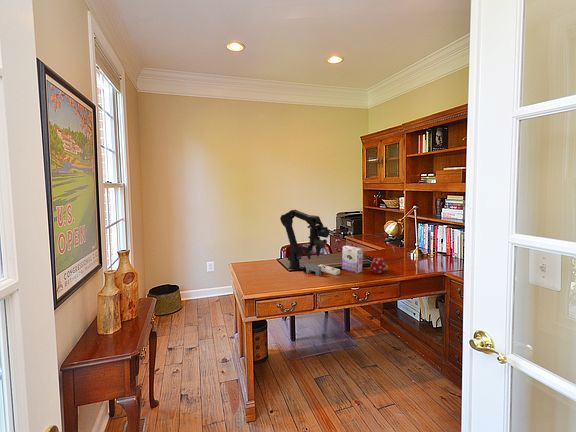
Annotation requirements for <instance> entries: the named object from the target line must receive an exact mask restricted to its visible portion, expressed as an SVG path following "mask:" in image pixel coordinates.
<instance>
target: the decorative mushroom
mask: <svg viewBox="0 0 576 432" xmlns="http://www.w3.org/2000/svg"><path fill="white" fill-rule="evenodd" d="M388 268H389V266H388V265H387V264H386V262H385V260H384V259H383V258H382V257H379V256H378V257H374V258H373V259H372V261H371V263H370V269H371V271H372V272H373V273H374V274H382V273H383V272H384V271H387V270H388Z"/></svg>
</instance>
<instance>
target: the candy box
mask: <svg viewBox="0 0 576 432" xmlns="http://www.w3.org/2000/svg"><path fill="white" fill-rule="evenodd" d="M341 249H342V250H341V269H342V270H344V271H348V272H350V273H351V272H352V273H353V274H354V273H355V274H360V273H362V272H363V257H364V255H363V254H364V248H361V247H355V246H352V245H348V244H347V245H343V246H342V248H341Z"/></svg>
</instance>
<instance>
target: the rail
mask: <svg viewBox="0 0 576 432" xmlns="http://www.w3.org/2000/svg"><path fill="white" fill-rule="evenodd" d="M317 266H320V267H321V273H325V274H329V275H333V276H339V275H340V274H341V269H339V268H336V267H332V266H328V265H325V264H318V265H317ZM324 267H325V268H324Z"/></svg>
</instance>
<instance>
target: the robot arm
mask: <svg viewBox="0 0 576 432" xmlns="http://www.w3.org/2000/svg"><path fill="white" fill-rule="evenodd" d="M294 218H298V219H299V220H303V221H304V222H306V224H308V226H307V228H308V229H309V236H308V239H309V241H308V242H307V244H303V245H301V246H300V245H298V242H297V238H296V233H295V232H294V227H293V223H294V221H293V219H294ZM279 220H280V222H281V224H282V225H283V227H284V228H285V231H286V234H287V238H288V242H289V246H290V250H289V253H290V255H288V256H287V260H288V261H289V266H288V269H290V270H293V271H297V270H299V269H301V266H300V263H301V262H300V260H301V259H302V257H303V255H304V254H303V253H304V252H305V255H306V257H307V259H308V260H311V256H312V252H313V248H314V247H315V253H316V257H319V256H320V254H321V252H322V249H325V248H326V246H327V245H328V240H327V238H329V236H330V230H329V229H328V226H324V224H323V222H322V220H321V217H320V216H319V215H311V214H307V213H305V212H302V211H299V210H297V209H291V210H290V211H288V212H285V213H284V214H281V216H280V219H279ZM321 238H326V239H321Z"/></svg>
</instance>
